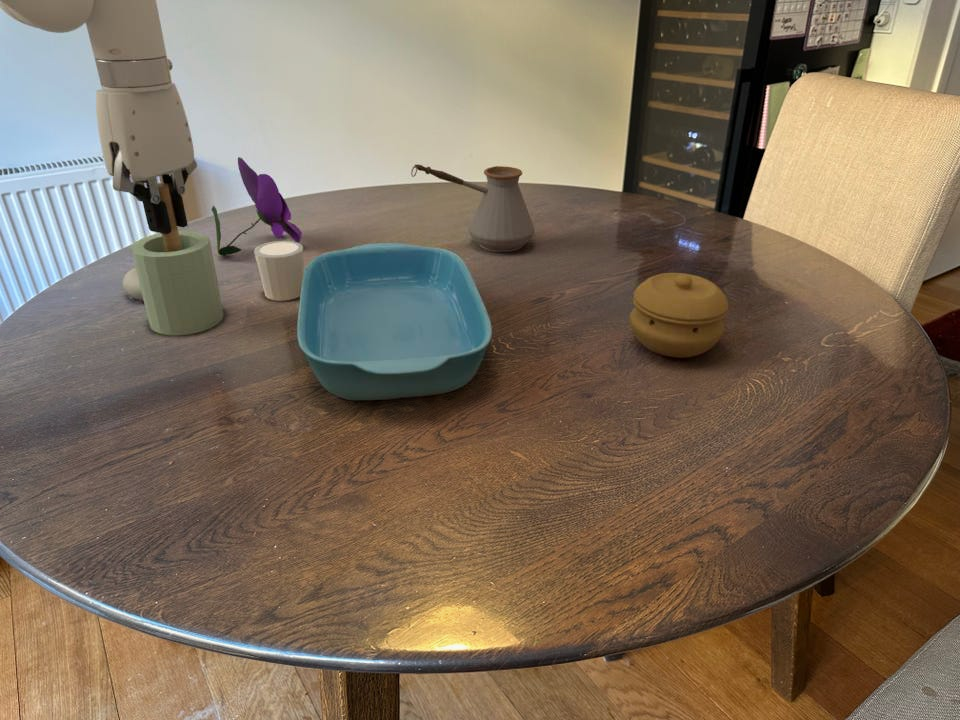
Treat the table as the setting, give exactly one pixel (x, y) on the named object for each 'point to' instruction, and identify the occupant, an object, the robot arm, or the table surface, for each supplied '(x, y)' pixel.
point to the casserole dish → (391, 321)
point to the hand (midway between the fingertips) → (168, 227)
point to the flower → (262, 207)
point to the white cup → (280, 269)
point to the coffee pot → (496, 209)
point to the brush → (172, 238)
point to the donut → (132, 285)
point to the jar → (178, 284)
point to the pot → (678, 314)
